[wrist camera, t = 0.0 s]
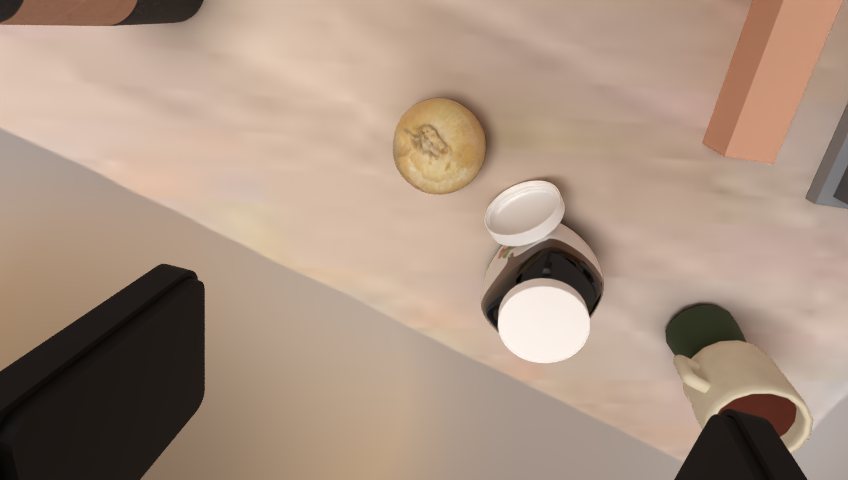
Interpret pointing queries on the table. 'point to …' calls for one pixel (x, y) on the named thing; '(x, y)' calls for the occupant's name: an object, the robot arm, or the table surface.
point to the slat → (768, 76)
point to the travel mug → (96, 12)
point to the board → (832, 168)
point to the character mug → (733, 374)
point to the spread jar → (539, 275)
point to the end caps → (842, 188)
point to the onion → (439, 146)
